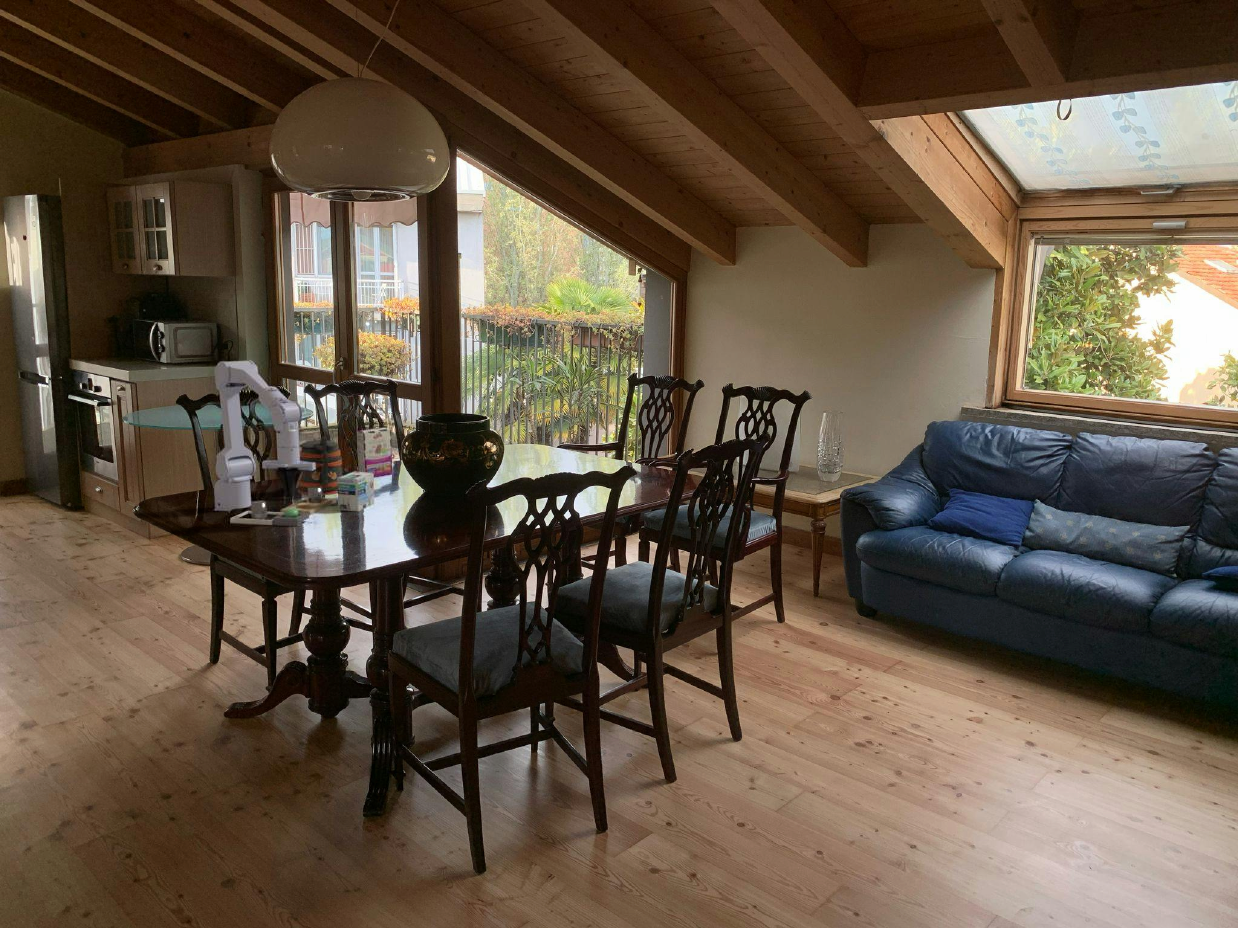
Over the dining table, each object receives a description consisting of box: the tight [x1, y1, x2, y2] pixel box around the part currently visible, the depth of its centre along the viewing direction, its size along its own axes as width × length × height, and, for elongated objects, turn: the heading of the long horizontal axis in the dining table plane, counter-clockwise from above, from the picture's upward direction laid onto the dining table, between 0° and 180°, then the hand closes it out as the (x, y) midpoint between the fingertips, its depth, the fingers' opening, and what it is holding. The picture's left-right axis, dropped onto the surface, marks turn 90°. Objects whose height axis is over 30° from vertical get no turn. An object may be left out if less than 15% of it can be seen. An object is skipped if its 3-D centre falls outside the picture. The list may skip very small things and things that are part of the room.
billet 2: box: [307, 486, 324, 503], centre depth 277 cm, size 4×4×5 cm
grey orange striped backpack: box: [297, 436, 343, 496], centre depth 293 cm, size 19×15×20 cm
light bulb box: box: [337, 471, 375, 512], centre depth 275 cm, size 11×7×11 cm, turn 168°
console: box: [272, 513, 310, 527], centre depth 258 cm, size 7×7×2 cm
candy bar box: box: [356, 427, 393, 478], centre depth 325 cm, size 11×5×16 cm, turn 138°
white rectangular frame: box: [229, 510, 282, 526], centre depth 261 cm, size 12×9×2 cm
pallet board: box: [279, 496, 337, 516], centre depth 273 cm, size 9×17×2 cm, turn 173°
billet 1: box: [250, 500, 268, 520], centre depth 260 cm, size 4×4×5 cm
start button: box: [284, 509, 298, 518], centre depth 258 cm, size 4×4×2 cm
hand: (290, 494), depth 257 cm, fingers closed
